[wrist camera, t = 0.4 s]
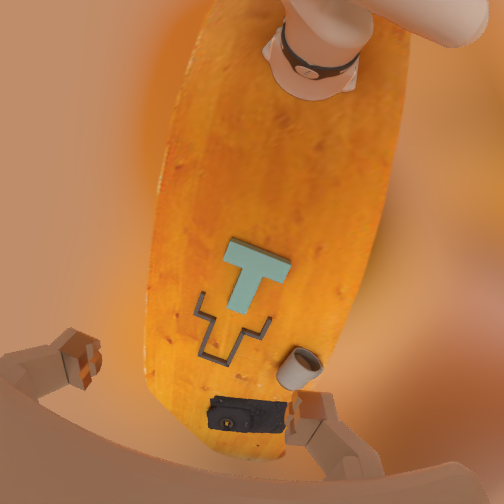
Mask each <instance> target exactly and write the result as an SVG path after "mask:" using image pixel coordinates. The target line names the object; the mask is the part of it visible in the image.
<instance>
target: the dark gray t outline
mask: <svg viewBox="0 0 504 504" xmlns="http://www.w3.org/2000/svg"><path fill="white" fill-rule="evenodd" d="M205 293H206V292H203V291H202V292H201V294H200V297H199V300H198V303H197V306H196V308H195V311H194V314H193V315H195V316H197V317H200V318H202V319H205V320H207V321H210V325H209V328H208V330H207V333H206V335H205V338H204V340H203V343H202V345H201V348H200V350H199V353H198V356H199V357H202V358H204V359H207V360H210V361H212V362H215V363H218V364H221V365H223V366H226V367H229V365H230V363H231V361H232V359H233V357H234V355H235V353H236V351H237V349H238V347H239V344H240V342H241V340H242V338H243V336H244V335H247V336H250V337H253V338H256V339H259V340H261V341H262V339H263V337H264V335H265V333H266V331H267V329H268V327H269V326H270V324H271V322H272V318H271V317H268V318H267V320H266V322H265V324H264V326H263V328H262V330H261V332H260V334H259V333H257V332H254V331H251V330H248V329H246V328H242V330H241V332H240V334H239V336H238V338H237V340H236V343H235V345H234V347H233V349H232V351H231V353H230V355H229V357H228V359H227V361H226V360H224V359H221V358H218V357H215V356H213V355H210V354H207V353H205V352H203V350H204V348H205V345H206V343H207V340H208V338H209V335H210V333H211V330H212V328H213V325H214V323H215V320H216V317H214V316H211V315H209V314H206V313H204V312H201V311H199V309H200V307H201V304H202V301H203V298H204V296H205Z"/></svg>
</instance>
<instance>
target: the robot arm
mask: <svg viewBox="0 0 504 504" xmlns="http://www.w3.org/2000/svg"><path fill="white" fill-rule="evenodd" d="M279 1H280V2H281V3H282V5H283V6H284V8H285V12H286V16H285V17H284V19H283V23H284V24H283V26H282V27H278V29H277V30H276V34H275V35H274V36H273V37H272V38H271V40H270V41H269V42H268V43H267V44H266V46H265V47H264V48H263V50H262V54H263V56H264V58H265V59H266V60H267V61H268V62H269V64H270V66H271V69H272V73H273V76H274V78H275V80H276V81H277V83H278V84H279V85H280V86H281V87H282V88H283V89H284V90H285V91H286V92H288V93H289V94H291V95H293V96H295V97H297V98H300V99H304V100H310V101H317V100H324V99H327V98H330V97H332V96H333V95H335V94H337V93H340V92H350V91H353V90H354V89H355V87H356V80H357V72H358V64H359V56H360V51H361V49H362V48H363V47H364V46H365V44H366V43H367V42H368V41H369V40H370V38H371V36H372V34H373V30H374V21H373V16H372V13H375V14H377V15H379V16H381V17H383V18H385V19H387V20H388V21H390V22H392V23H394V24H396V25H398V26H400V27H401V28H403V29H405V30H407V31H410V32H412V33H414V34H417V35H419V36H421V37H423V38H426V39H428V40H430V41H433V42H435V43H437V44H440V45H442V46H444V47H446V48H458V47H462V46H466V45H468V44H470V43H472V42H474V41H475V40H477V39H478V38H479V37H480V36H481V35H482V34H483V32H484V31H485V29H486V26H487V24H488V20H489V3H488V0H279ZM371 12H372V13H371ZM270 47H271V48H270ZM351 80H352V81H351ZM100 347H101V346H100V341H99V340H98V339H96V338H94V337H91V336H89V335H87V334H85V333H82V332H79V331H77V330H75V329H73V328H68V329H67V330H65V331H64V332H63V333H62V334H61V335H60V336H59V337H58V338H57V339H56V340H55V341H54V342H52V343H51V345H42V346H38V347H34V348H30V349H25V350H21V351H16V352H12V353H7V354H4V355H3V356H2V357H1V358H0V504H490V503H489V500H488V497H487V494H486V492H485V489H484V486H483V484H482V482H481V480H480V478H479V477H478V475H476V474H475V473H474V472H472V471H471V470H470V469H468V468H467V467H465V466H463V465H462V464H460V463H458V462H456V461H451V462H447V463H444V464H440V465H436V466H432V467H428V468H424V469H420V470H415V471H410V472H405V473H400V474H395V475H388V476H385V474H384V470H383V467H382V463H381V460H380V457H379V454H378V453H377V452H376V451H375V450H374V449H373V448H371V447H370V446H369V445H368V444H367V443H366V442H365V441H363V440H362V439H361V438H360V437H359V436H358V435H357V434H356V433H354V432H353V431H352V430H351V429H350V428H349V427H348V426H347V425H346V424H345V423H343V421H339V419H338V415H337V411H336V407H335V403H334V399H333V395H332V394H331V393H328V392H315V391H305V390H295V391H294V392H293V394H292V401H291V402H289V403H288V405H287V408H286V411H285V417H284V424H285V425H286V426H287V429H286V431H285V444H287V445H297V446H306V449H307V450H308V451H309V453H310V454H311V455H312V457H313V458H314V459H315V461H316V462H317V464H318V465H319V466H320V467H321V469H322V470H323V471H324V473H325V474H326V475H327V476H326V477H325V478H324V479H323V480H322V481H285V480H271V479H260V478H251V477H243V476H236V475H229V474H224V473H218V472H213V471H208V470H203V469H198V468H194V467H189V466H186V465H182V464H178V463H174V462H171V461H167V460H164V459H160V458H157V457H153V456H151V455H148V454H145V453H142V452H139V451H136V450H134V449H131V448H128V447H125V446H123V445H120V444H118V443H115V442H113V441H111V440H108V439H106V438H104V437H101V436H99V435H97V434H95V433H92V432H90V431H88V430H86V429H84V428H82V427H80V426H78V425H76V424H74V423H72V422H70V421H68V420H67V419H65V418H63V417H61V416H59V415H57V414H56V413H54V412H52V411H50V410H49V409H47V408H46V407H44V406H42V405H41V404H39V401H38V398H40V397H42V396H44V395H47V394H49V393H51V392H54V391H56V390H58V389H60V388H62V387H64V386H66V385H68V384H71V385H73V386H75V387H78V388H80V389H82V390H84V391H85V390H86V389H87V387H88V386H89V384H90V383H91V382H92V379H91V377H92V376H95V375H97V373H98V372H99V371H100V368H101V365H102V356H101V354H100V352H99V351H98V350H99V349H100Z"/></svg>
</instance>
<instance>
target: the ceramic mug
mask: <svg viewBox="0 0 504 504" xmlns="http://www.w3.org/2000/svg"><path fill="white" fill-rule="evenodd" d="M322 371H323V366H322V364H321V363H320V361H319V359H318V358H317V357H316V356H315V355H314V354H313V353H312V352H310V351H309V350H307V349H304V348H300V347H298V348H295V349H294V350H293V351H292V352H291V354H290V355H289V356H288V357H287V359H286V360H285V361H284V363H283V364H282V365H281V366H280V367H279V369H278V371H277V373H276V377H277V380H278V382H279V384H280V385H281V386H282V387H283V388H285V389H287V390H289V391H295V390H300V389H301V388H303V387H304V386H305V385H306V384H307V383H308V382H309V381H310V380H312V379H314V378H316V377H317V376H319V375H320V374H321V373H322Z"/></svg>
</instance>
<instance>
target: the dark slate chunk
mask: <svg viewBox="0 0 504 504" xmlns="http://www.w3.org/2000/svg"><path fill="white" fill-rule="evenodd" d="M210 404H211V407H210V408H209V410H208V411H207V417H208V428H210V429H216V430H222V431H233V432H234V431H236V432H242V433H247V432H251V433H282V432H283V430H284V429H285V427H286V425H285V424H284V417H285V411H286V408H287V403H286V402H280V401H276V402H272V401H263V400H253V399H242V398H232V397H224V396H215V397H214V398H213V399H210ZM225 421H226V422H229V423H228V426H226V425H225Z"/></svg>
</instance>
